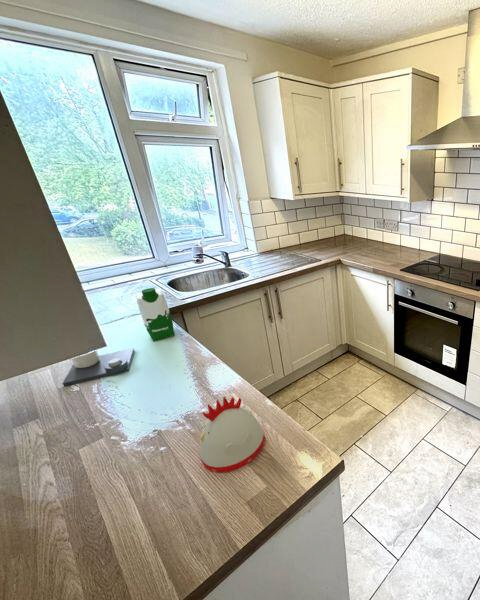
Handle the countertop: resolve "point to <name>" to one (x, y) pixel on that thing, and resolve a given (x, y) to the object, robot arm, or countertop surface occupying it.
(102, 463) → the countertop surface
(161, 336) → the milk carton
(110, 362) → the tare button
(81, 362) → the bowl
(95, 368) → the scale
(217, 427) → the kitchen timer
